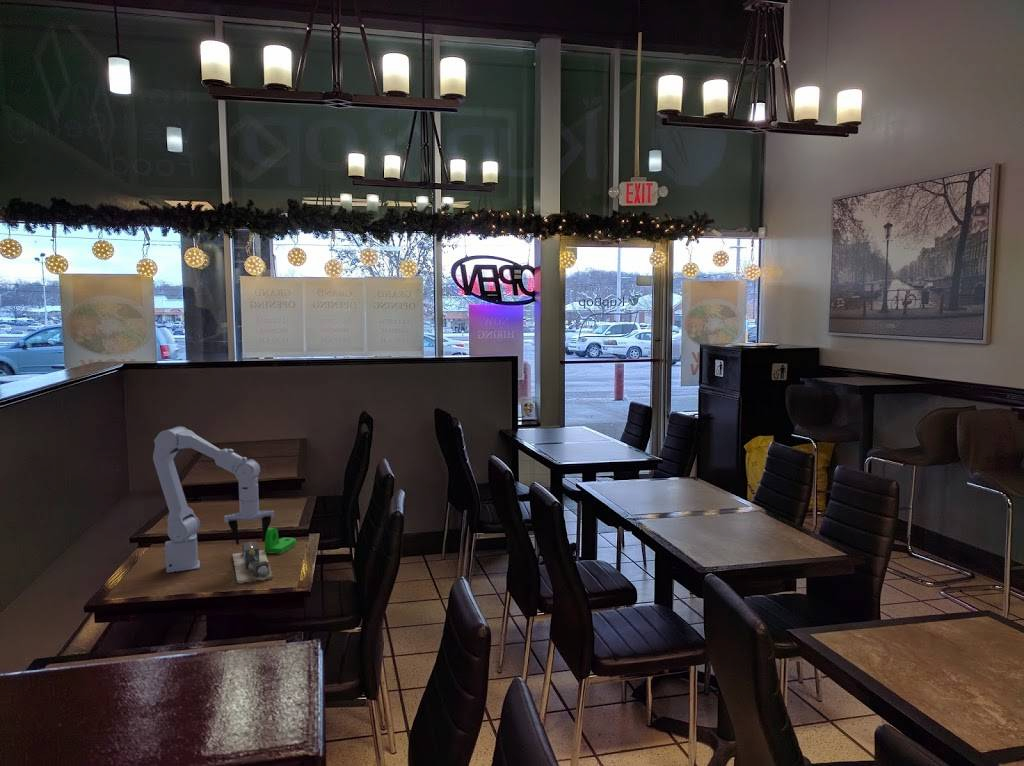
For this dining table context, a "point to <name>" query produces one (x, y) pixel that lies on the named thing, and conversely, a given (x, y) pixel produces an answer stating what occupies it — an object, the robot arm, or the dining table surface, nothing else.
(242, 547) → the metal cylinder fitting
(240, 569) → the board
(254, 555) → the grey slotted block
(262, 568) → the angled shaft
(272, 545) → the mechanical part
